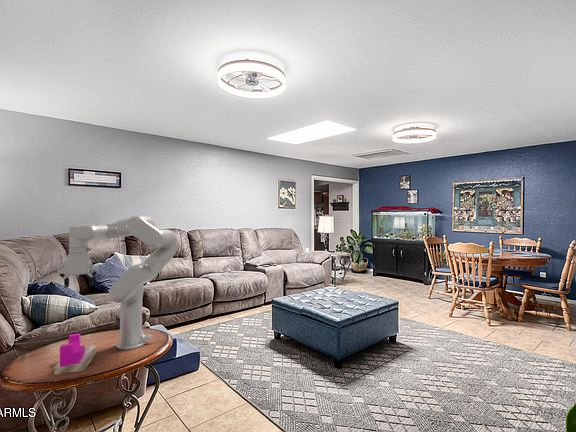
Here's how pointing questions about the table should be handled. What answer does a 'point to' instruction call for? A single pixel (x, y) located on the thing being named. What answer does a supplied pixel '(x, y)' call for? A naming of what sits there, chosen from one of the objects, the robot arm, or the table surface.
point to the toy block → (71, 351)
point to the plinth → (81, 366)
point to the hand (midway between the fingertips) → (78, 286)
